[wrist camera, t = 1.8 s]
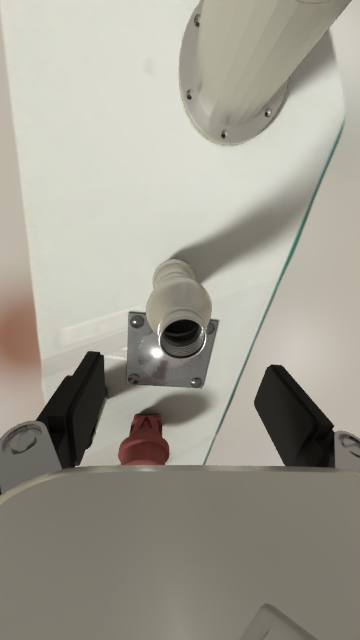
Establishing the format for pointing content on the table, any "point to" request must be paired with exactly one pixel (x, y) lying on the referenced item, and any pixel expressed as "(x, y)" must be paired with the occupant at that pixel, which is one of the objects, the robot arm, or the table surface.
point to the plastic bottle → (178, 310)
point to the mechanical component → (144, 443)
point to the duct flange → (162, 358)
